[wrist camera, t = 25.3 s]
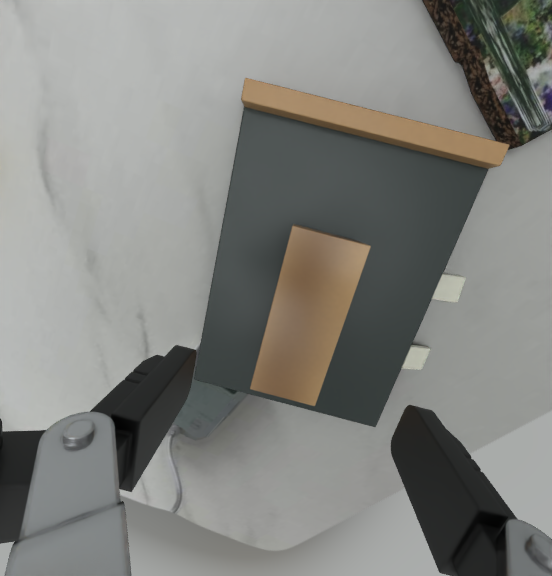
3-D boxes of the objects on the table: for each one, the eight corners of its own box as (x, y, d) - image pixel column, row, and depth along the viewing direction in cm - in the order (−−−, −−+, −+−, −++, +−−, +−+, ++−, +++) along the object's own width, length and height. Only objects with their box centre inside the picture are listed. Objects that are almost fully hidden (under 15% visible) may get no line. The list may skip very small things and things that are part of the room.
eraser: (355, 239, 18) (371, 245, 14) (311, 372, 21) (314, 406, 18) (293, 223, 18) (292, 225, 15) (258, 358, 21) (249, 389, 18)
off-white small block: (418, 367, 22) (421, 370, 21) (398, 365, 21) (401, 368, 21) (427, 346, 21) (431, 349, 21) (407, 344, 21) (411, 346, 20)
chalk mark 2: (454, 301, 20) (457, 303, 20) (428, 297, 20) (430, 299, 20) (463, 276, 20) (466, 277, 19) (436, 272, 20) (438, 273, 19)
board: (371, 417, 23) (379, 437, 21) (198, 371, 24) (189, 387, 21) (484, 153, 17) (510, 144, 15) (251, 93, 18) (244, 76, 15)
